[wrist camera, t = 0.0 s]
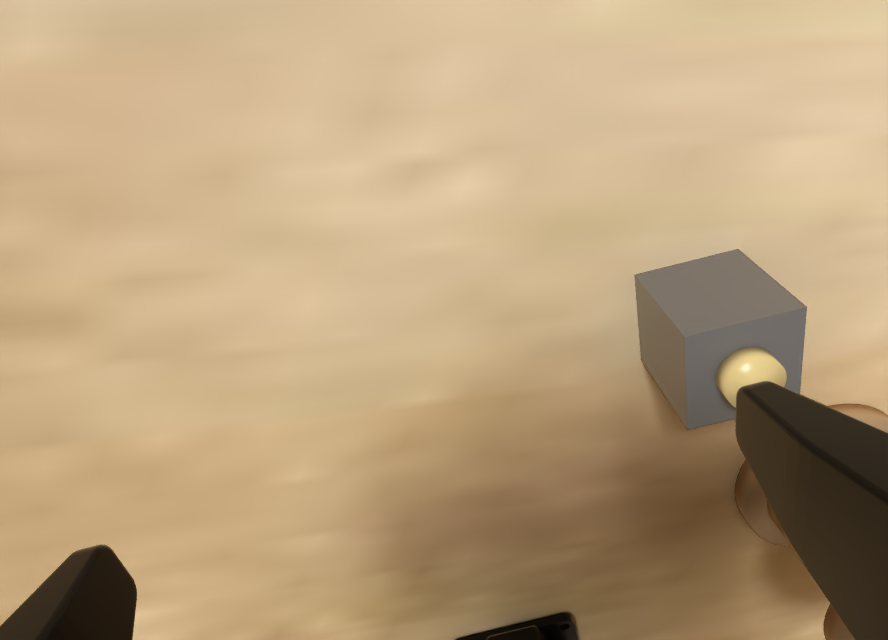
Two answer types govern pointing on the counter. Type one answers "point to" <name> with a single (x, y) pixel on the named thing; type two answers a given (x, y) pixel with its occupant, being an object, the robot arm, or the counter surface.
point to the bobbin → (767, 523)
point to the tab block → (717, 333)
